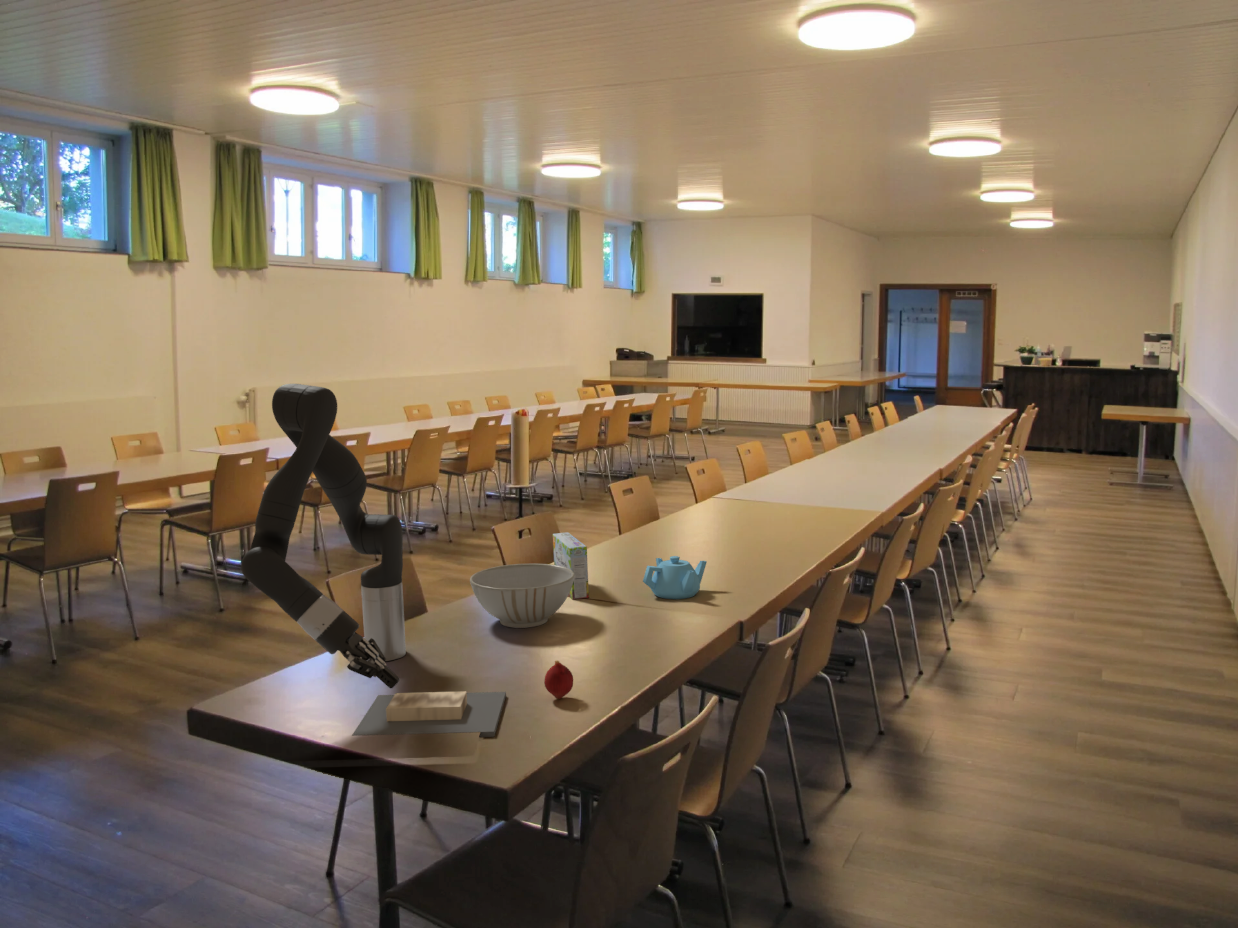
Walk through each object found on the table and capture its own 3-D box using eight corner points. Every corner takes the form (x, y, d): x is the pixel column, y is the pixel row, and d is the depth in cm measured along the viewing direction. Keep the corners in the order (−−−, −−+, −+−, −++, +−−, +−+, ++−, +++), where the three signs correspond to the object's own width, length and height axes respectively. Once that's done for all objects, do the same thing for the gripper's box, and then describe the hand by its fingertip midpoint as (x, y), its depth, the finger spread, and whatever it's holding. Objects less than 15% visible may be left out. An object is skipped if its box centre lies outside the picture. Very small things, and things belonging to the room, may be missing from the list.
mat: (378, 699, 195) (378, 694, 194) (506, 696, 195) (505, 691, 195) (352, 740, 175) (351, 735, 175) (494, 736, 175) (494, 731, 175)
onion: (574, 692, 196) (572, 655, 195) (573, 703, 190) (572, 664, 189) (545, 693, 196) (544, 656, 195) (544, 704, 190) (543, 665, 189)
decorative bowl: (527, 643, 229) (525, 594, 227) (450, 625, 245) (447, 579, 243) (596, 616, 250) (595, 571, 248) (521, 601, 266) (519, 559, 264)
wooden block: (395, 693, 188) (466, 691, 188) (396, 705, 189) (467, 703, 189) (386, 708, 180) (460, 706, 180) (386, 721, 181) (460, 719, 181)
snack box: (553, 582, 286) (551, 533, 284) (571, 580, 288) (569, 531, 286) (571, 600, 266) (569, 547, 264) (590, 598, 268) (588, 545, 266)
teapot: (657, 585, 280) (657, 549, 279) (707, 588, 275) (707, 551, 274) (641, 598, 266) (640, 561, 265) (693, 602, 261) (693, 564, 260)
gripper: (331, 620, 175) (401, 682, 177) (350, 600, 188) (415, 659, 190) (304, 648, 176) (374, 710, 178) (325, 627, 189) (390, 685, 191)
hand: (395, 683), depth 184 cm, fingers closed
